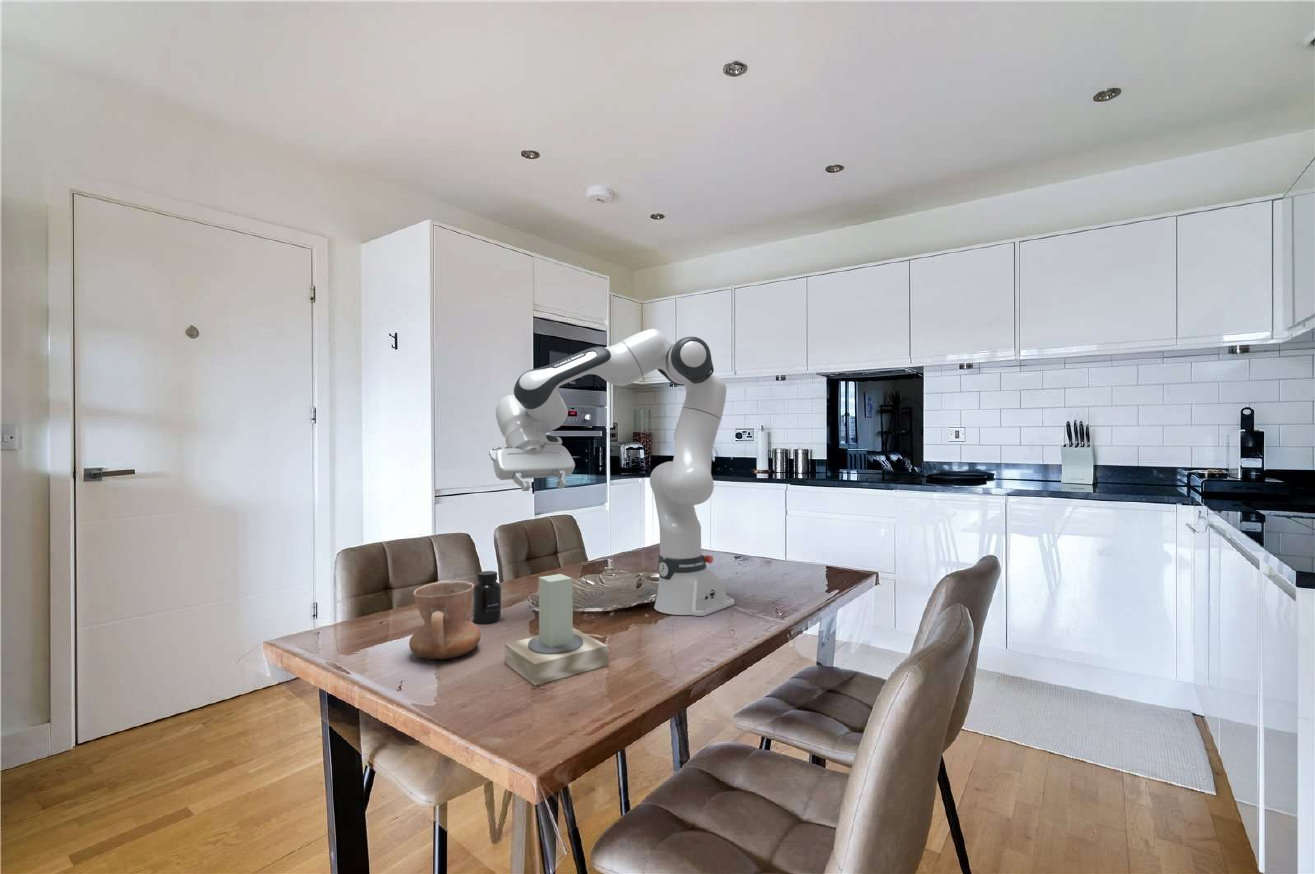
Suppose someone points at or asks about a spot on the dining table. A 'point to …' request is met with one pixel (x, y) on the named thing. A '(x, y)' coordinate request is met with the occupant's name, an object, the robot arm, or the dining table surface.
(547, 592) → the sage block
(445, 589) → the ceramic jug
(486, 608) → the supplement bottle
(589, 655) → the birch base
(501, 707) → the dining table surface
